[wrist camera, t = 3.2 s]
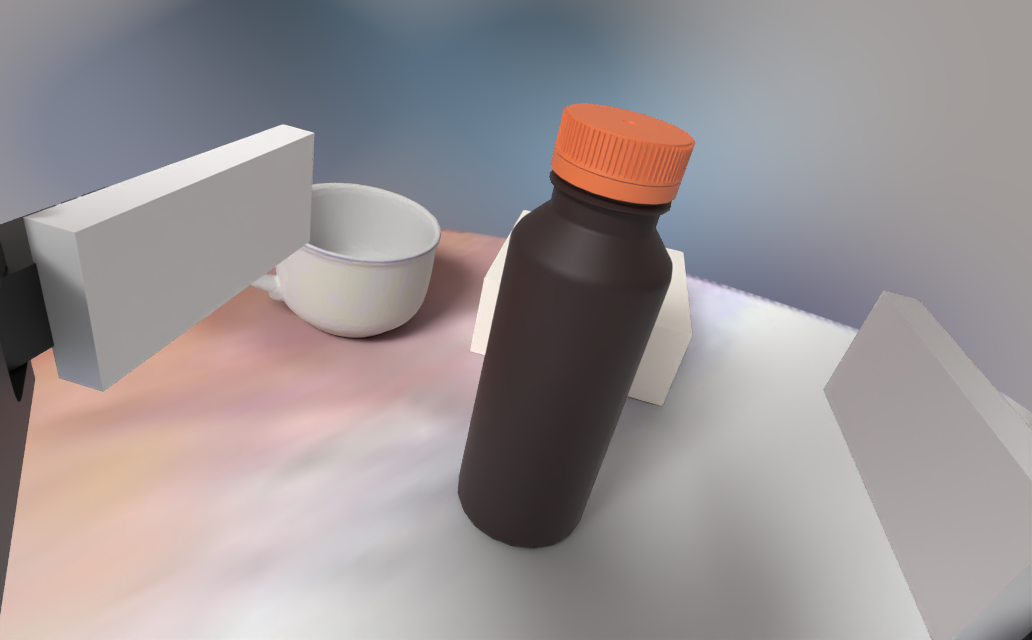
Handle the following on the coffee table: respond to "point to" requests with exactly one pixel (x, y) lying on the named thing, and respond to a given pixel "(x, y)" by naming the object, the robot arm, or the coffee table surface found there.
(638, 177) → the vinegar
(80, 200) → the robot arm
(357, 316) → the teacup
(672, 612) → the coffee table surface
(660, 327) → the riser
